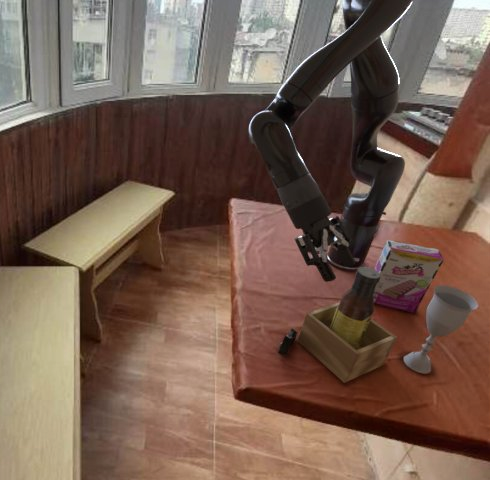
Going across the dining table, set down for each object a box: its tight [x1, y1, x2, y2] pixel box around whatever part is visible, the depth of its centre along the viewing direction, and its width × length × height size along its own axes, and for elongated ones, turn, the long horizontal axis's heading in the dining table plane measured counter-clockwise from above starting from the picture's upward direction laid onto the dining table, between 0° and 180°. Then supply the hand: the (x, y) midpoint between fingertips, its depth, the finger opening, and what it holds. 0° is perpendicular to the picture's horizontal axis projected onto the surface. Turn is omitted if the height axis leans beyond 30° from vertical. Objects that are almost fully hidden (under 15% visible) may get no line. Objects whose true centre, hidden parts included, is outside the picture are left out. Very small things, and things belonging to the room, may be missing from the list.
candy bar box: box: [373, 239, 445, 314], centre depth 101 cm, size 11×5×16 cm, turn 71°
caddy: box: [297, 301, 398, 384], centre depth 87 cm, size 12×13×8 cm
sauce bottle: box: [330, 266, 380, 350], centre depth 84 cm, size 6×6×20 cm
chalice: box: [403, 284, 479, 375], centre depth 83 cm, size 7×7×18 cm
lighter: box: [277, 328, 299, 357], centre depth 89 cm, size 8×2×5 cm
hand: (341, 272), depth 83 cm, fingers open, 8 cm apart
